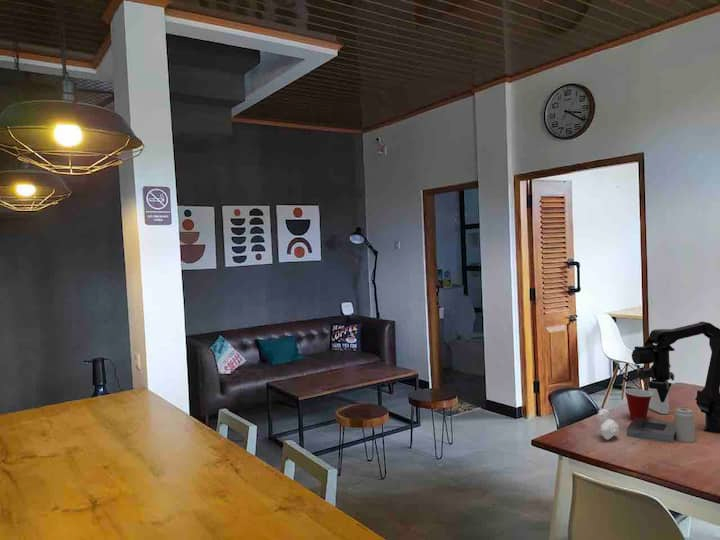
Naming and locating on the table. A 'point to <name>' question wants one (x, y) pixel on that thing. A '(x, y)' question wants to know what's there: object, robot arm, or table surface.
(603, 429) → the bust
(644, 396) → the plastic cup
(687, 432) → the beverage can
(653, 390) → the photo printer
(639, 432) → the jig plate
